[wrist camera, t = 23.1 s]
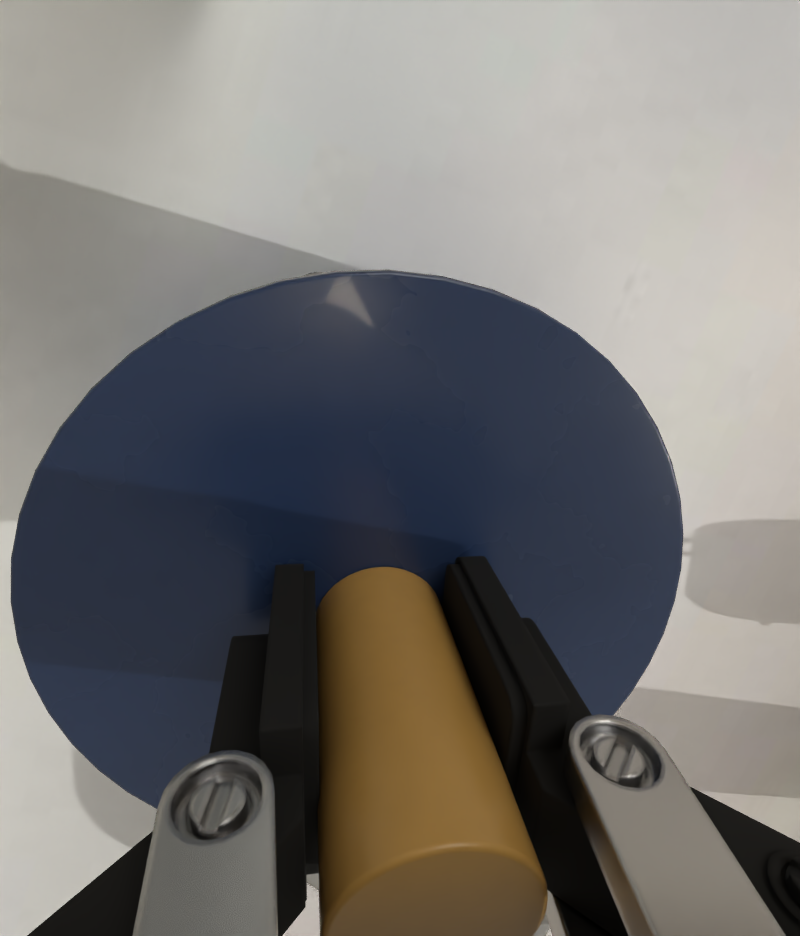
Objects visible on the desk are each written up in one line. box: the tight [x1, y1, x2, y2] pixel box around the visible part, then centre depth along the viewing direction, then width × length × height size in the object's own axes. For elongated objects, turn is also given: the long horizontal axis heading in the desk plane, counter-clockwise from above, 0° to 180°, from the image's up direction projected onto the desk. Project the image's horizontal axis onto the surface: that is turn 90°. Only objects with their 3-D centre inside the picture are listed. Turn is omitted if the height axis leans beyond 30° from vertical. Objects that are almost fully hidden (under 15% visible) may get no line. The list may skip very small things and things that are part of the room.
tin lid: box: [11, 270, 683, 936], centre depth 9 cm, size 13×13×7 cm
